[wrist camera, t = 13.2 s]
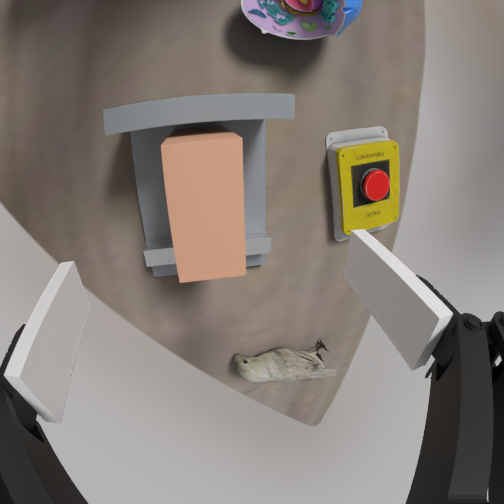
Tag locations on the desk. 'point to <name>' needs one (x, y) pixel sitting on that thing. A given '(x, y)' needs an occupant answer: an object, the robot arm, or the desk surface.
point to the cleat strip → (164, 253)
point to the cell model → (302, 17)
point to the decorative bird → (283, 366)
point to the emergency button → (363, 180)
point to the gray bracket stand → (196, 116)
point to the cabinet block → (205, 202)
